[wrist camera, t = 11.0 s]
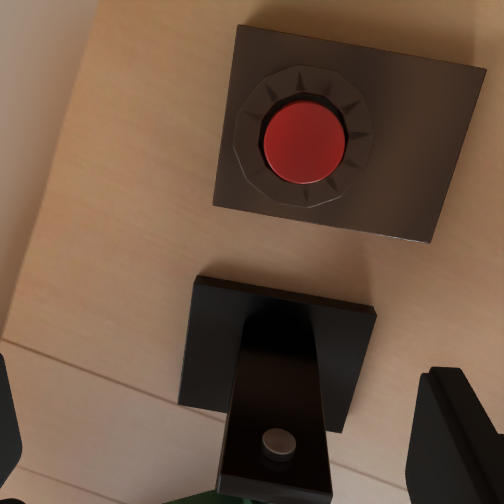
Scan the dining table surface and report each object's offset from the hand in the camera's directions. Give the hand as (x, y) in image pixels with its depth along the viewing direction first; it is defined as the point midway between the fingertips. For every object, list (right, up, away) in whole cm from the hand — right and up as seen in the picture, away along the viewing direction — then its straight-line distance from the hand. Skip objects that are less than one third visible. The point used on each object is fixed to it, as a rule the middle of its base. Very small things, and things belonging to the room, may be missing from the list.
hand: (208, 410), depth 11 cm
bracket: (+2, -3, +20) cm, 21 cm away
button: (+3, +9, +12) cm, 15 cm away
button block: (+6, +10, +15) cm, 19 cm away
